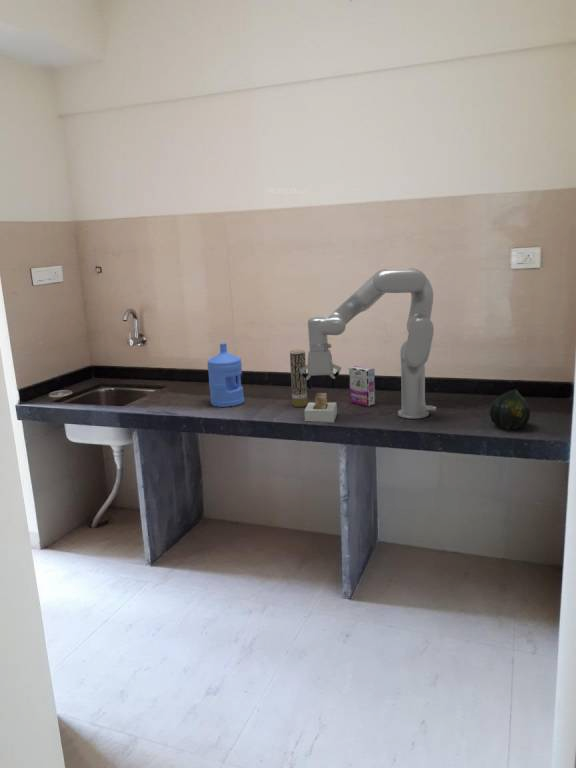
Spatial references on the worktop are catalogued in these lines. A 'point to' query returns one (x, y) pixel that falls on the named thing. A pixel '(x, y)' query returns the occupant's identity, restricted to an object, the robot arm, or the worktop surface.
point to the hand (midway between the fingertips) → (321, 388)
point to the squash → (510, 410)
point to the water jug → (225, 379)
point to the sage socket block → (321, 413)
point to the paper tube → (298, 378)
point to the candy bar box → (362, 386)
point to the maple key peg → (321, 400)
